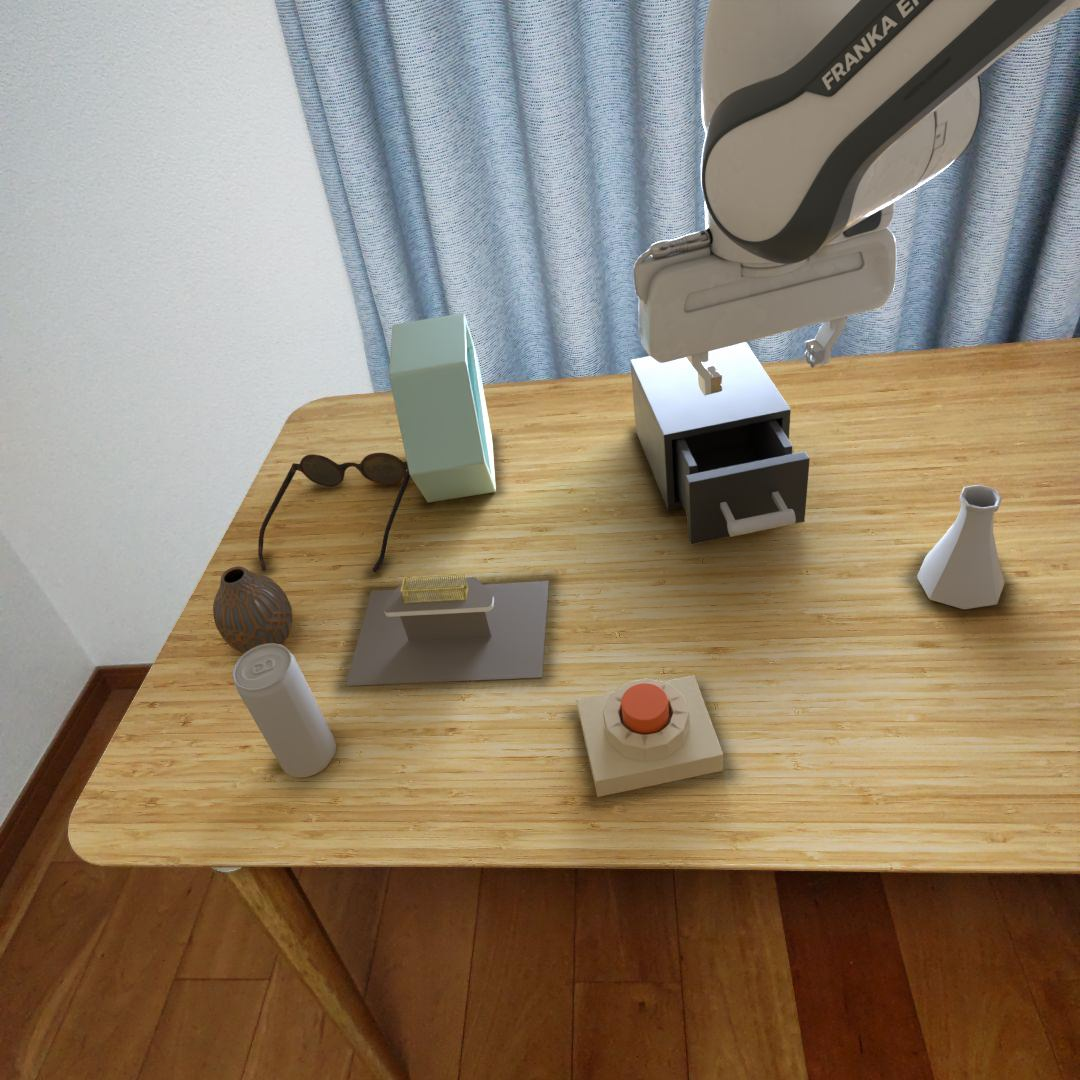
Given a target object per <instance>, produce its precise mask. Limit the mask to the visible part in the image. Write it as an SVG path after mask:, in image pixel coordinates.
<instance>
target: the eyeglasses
mask: <svg viewBox="0 0 1080 1080" xmlns="http://www.w3.org/2000/svg"><path fill="white" fill-rule="evenodd" d="M351 467H354V468H355V469H357V470H358V471H359V472H360V474H361V475H362V477H364V479H366V480H368V481H370V482H372V483H376V484H379V485H393V484H397V483H399V482H401V481H402V483H401V484H400V488H399V490H398V493H397V496H396V498H395V501H394V504H393V507H392V509H391V512H390V515H389V518H388V521H387V524H386V526H385V529H384V533H383V538H382V543H381V549H380V552H379V556H378V558H377V560H376V562H375V564H374V565H373V567H372V569H371V571H372V573H374V574H375V573H378V571H379V569H380V567H381V566H382V564H383V562H384V559H385V557H386V553H387V549H388V548H387V547H388V542H389V537H390V532H391V528H392V526H393V523H394V520H395V518H396V516H397V515H396V514H397V512H398V510H399V507H400V505H401V502H402V500H403V497H404V494H405V492H406V489H407V487H408V485H409V482H410V480H411V476H410V474H409V469H408V464H407V460H406V461H403V460H402V459H401V458H399V457H398V456H397V455H394V454H390V453H387V452H374V453H369V454H367V455H366V456H364V458H362V460H361V461H360V462H359V463H358V462H350V461H349V462H344V463H337V462H335V461H334V460H332V459H330V458H328V457H327V456H324V455H320V454H314V453H313V454H311V453H310V454H306V455H305V456H303V457H302V458H301V459H300V461H299V463H295V462H293V463H292V464H291V467H290V469H289V471H288V472H287V474H286V476H285V478H284V480H283V482H282V484H281V486H280V488H279V489H278V491H277V494H276V495H275V497H274V499H273V501H272V503H271V505H270V507H269V509H268V511H267V514H266V516H265V517H264V519H263V522H262V524H261V526H260V530H259V535H258V543H257V555H258V559H259V564H260V568H261V571H263V572H264V571H266V569H267V568H266V563H265V559H264V555H263V553H264V542H265V541H264V539H265V533H266V529H267V527H268V525H269V522H270V520H271V519H272V517H273V514H274V513H275V511H276V509H277V507H278V506H279V504H280V501H281V500H282V498H283V496H284V495H285V493H286V491H287V489H288V487H289V486H290V483H291V482H292V481H293V478H294V476H295V474H296V472H301V473H302V474H303V475H304V476H305V477H306V478H307V479H308V480H310V481H311V482H313V483H314V484H317V485H319V486H322V487H336V486H339V485H340V484H342V483H343V481H344V479H345V475H346V474H345V473H346V470H347V469H348V468H351Z"/></svg>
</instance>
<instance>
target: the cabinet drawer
mask: <svg viewBox="0 0 1080 1080" xmlns="http://www.w3.org/2000/svg"><path fill="white" fill-rule="evenodd" d="M672 451H673V473H674V486H675V489H676V491H677V493H678V496H679V498H680V500H681V503H682V505H683V507H682V508H683V509H684V512H685V514H686V518H687V519H686V525H687V538H688V541H689V543H690V545H697V544H701V543H706V542H710V541H711V542H712V541H716V540H720V539H721V540H722V539H725V538H730V537H736V536H742V535H746V534H751V533H752V534H753V533H755V532H761V531H766V530H771V529H775V528H781V527H785V526H790V525H794V524H799V523H804V522H805V521H806V510H807V508H806V507H807V496H808V484H809V474H810V473H809V472H810V460H811V459H810V456H809V455H808V453H807V452H806V451H805V450H804V451H800V452H794V453H793V444H792V443H791V442H790V439H789V440H788V438H787V437H786V435H785V433H784V432H783V430H782V429H781V427H780V425H779V424H778V422H777V421H776V419H774V420H769V421H764V422H759V423H754V424H749V425H744V426H739V427H734V428H729V429H724V430H719V431H714V432H709V433H704V434H700V435H695V436H690V437H685V438H680V439H675V440H672Z"/></svg>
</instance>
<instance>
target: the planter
mask: <svg viewBox="0 0 1080 1080" xmlns="http://www.w3.org/2000/svg"><path fill="white" fill-rule="evenodd" d="M389 352H390V354H389V366H388V379H389V385H390V388H391V393H392V398H393V403H394V408H395V412H396V416H397V422H398V426H399V431H400V437H401V440H402V446H403V450H404V455H405V459H406V461H407V464H408V469H409V474H410V476H411V477H410V479H412V481H413V482H414V484H415V485H416V487H417V488H418V490H419V492H420V493H421V495H422V496H423V498H424V499H425V501H426V502H427V503H435V502H436V503H437V502H441V501H448V500H454V499H455V500H456V499H460V498H467V497H472V496H480V495H484V494H491V493H496V492H497V486H496V485H497V484H496V473H495V472H496V471H495V457H494V446H493V445H494V444H493V436H492V429H491V424H490V419H489V414H488V409H487V408H488V407H487V402H486V396H485V391H484V386H483V379H482V375H481V369H480V364H479V363H480V362H479V357H478V353H477V349H476V347H475V343H474V340H473V336H472V333H471V330H470V327H469V323H468V319H467V316H466V314H465V312H461V313H455V314H454V313H453V314H449V315H443V316H437V317H431V318H425V319H419V320H412V321H407V322H401V323H394V324H392V328H391V342H390V351H389Z"/></svg>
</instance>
